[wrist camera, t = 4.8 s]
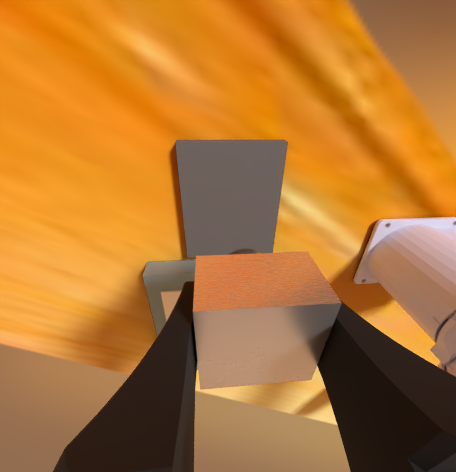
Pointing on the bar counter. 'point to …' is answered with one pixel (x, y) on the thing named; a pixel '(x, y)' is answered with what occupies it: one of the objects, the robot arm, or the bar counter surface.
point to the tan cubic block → (260, 317)
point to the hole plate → (166, 287)
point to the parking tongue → (230, 194)
